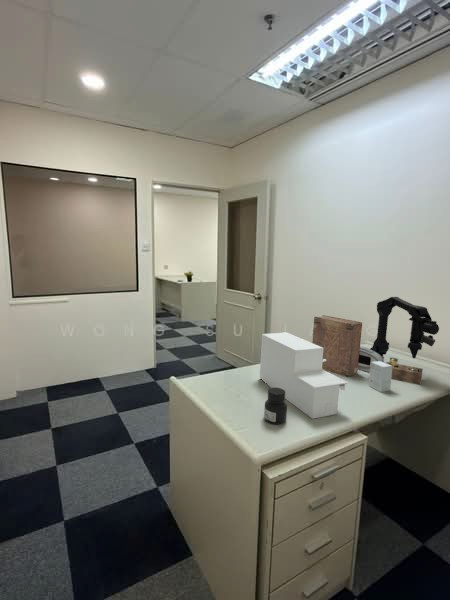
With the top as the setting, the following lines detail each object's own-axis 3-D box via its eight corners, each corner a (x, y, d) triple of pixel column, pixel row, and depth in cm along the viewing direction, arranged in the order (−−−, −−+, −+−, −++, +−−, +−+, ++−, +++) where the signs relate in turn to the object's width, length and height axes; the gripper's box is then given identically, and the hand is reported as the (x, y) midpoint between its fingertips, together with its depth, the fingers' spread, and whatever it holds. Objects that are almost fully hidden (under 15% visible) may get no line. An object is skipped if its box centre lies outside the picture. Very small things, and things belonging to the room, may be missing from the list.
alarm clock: (340, 364, 198) (341, 344, 196) (345, 362, 202) (346, 342, 200) (378, 375, 181) (380, 353, 179) (383, 372, 185) (385, 351, 183)
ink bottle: (260, 414, 132) (261, 386, 131) (280, 412, 134) (282, 385, 133) (269, 426, 123) (270, 397, 121) (290, 424, 125) (292, 395, 123)
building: (347, 412, 136) (352, 356, 133) (312, 420, 129) (316, 361, 125) (288, 375, 177) (290, 331, 174) (258, 379, 170) (260, 334, 166)
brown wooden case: (310, 364, 196) (313, 316, 192) (319, 361, 202) (322, 314, 197) (349, 377, 176) (353, 324, 172) (357, 373, 182) (362, 322, 178)
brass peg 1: (388, 369, 179) (389, 358, 179) (389, 367, 183) (390, 357, 182) (396, 370, 177) (397, 360, 176) (397, 368, 181) (398, 358, 180)
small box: (390, 390, 160) (393, 365, 158) (380, 392, 158) (383, 367, 156) (377, 384, 167) (380, 360, 166) (368, 385, 165) (370, 361, 163)
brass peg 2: (407, 379, 174) (409, 369, 174) (408, 377, 178) (409, 367, 177) (416, 381, 172) (417, 370, 171) (417, 379, 175) (418, 368, 175)
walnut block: (382, 376, 179) (384, 366, 178) (385, 371, 187) (386, 361, 186) (420, 384, 169) (421, 373, 168) (421, 379, 177) (422, 368, 176)
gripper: (434, 335, 159) (431, 366, 161) (435, 329, 175) (432, 356, 177) (409, 332, 165) (405, 361, 168) (412, 326, 181) (409, 353, 183)
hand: (414, 358), depth 174 cm, fingers closed
